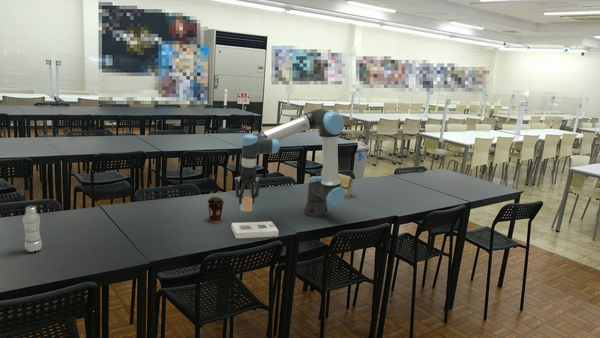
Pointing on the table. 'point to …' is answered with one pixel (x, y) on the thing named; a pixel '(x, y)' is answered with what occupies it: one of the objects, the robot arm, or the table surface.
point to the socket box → (254, 229)
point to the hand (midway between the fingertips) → (246, 209)
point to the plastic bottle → (32, 229)
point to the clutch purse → (343, 182)
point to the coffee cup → (215, 209)
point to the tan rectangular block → (247, 202)
